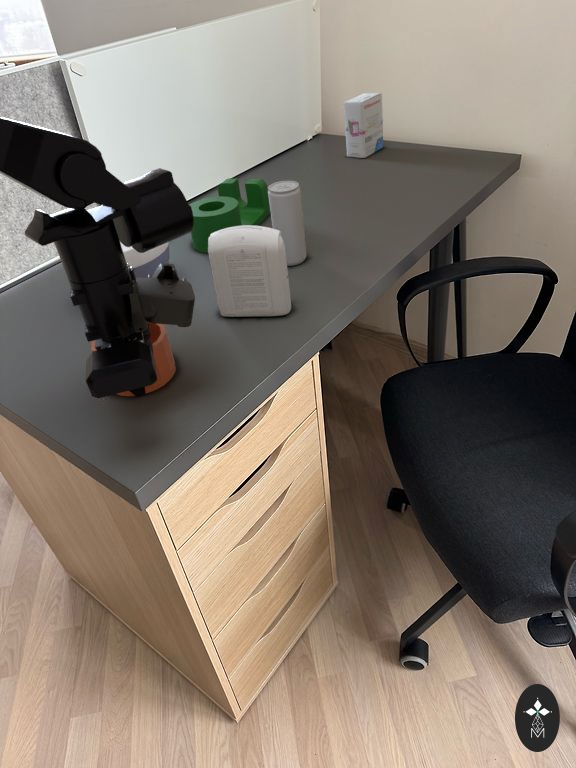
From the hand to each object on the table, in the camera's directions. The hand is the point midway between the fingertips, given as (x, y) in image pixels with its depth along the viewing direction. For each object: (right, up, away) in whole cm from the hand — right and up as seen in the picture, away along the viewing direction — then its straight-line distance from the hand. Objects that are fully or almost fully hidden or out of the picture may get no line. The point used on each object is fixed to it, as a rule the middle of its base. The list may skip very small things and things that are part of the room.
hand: (141, 394), depth 65 cm
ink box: (+35, +55, +67) cm, 93 cm away
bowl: (-8, +16, +24) cm, 30 cm away
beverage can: (+17, +21, +27) cm, 38 cm away
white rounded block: (+12, +11, +15) cm, 23 cm away
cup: (-2, +2, +6) cm, 7 cm away
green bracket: (+6, +29, +39) cm, 49 cm away
